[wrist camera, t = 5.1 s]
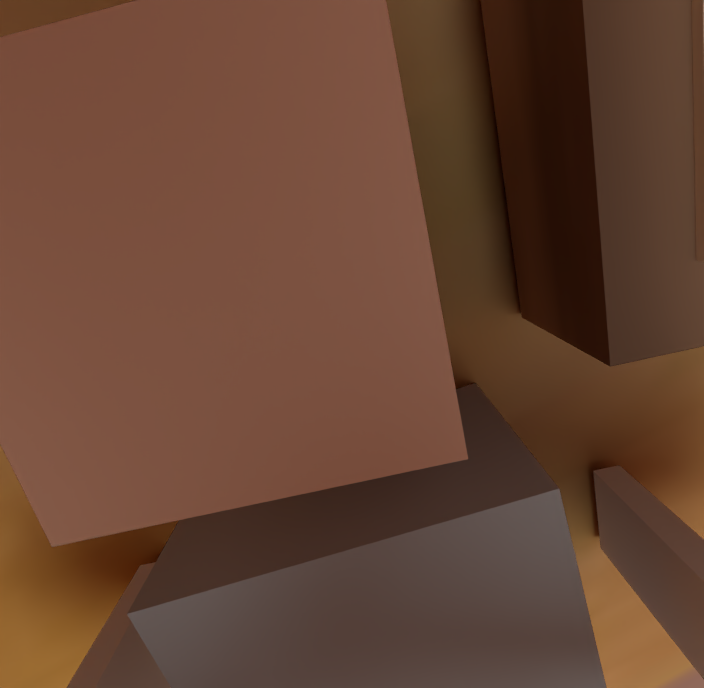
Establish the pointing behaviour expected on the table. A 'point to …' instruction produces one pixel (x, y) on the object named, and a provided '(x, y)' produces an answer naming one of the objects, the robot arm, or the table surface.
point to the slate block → (381, 582)
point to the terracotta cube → (212, 263)
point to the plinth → (604, 168)
